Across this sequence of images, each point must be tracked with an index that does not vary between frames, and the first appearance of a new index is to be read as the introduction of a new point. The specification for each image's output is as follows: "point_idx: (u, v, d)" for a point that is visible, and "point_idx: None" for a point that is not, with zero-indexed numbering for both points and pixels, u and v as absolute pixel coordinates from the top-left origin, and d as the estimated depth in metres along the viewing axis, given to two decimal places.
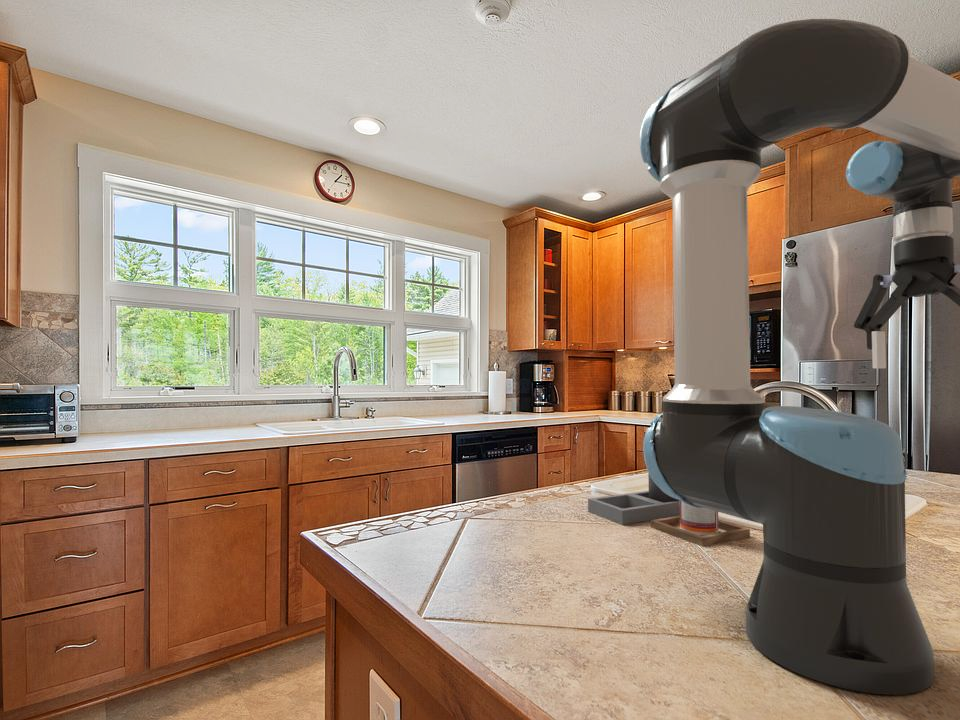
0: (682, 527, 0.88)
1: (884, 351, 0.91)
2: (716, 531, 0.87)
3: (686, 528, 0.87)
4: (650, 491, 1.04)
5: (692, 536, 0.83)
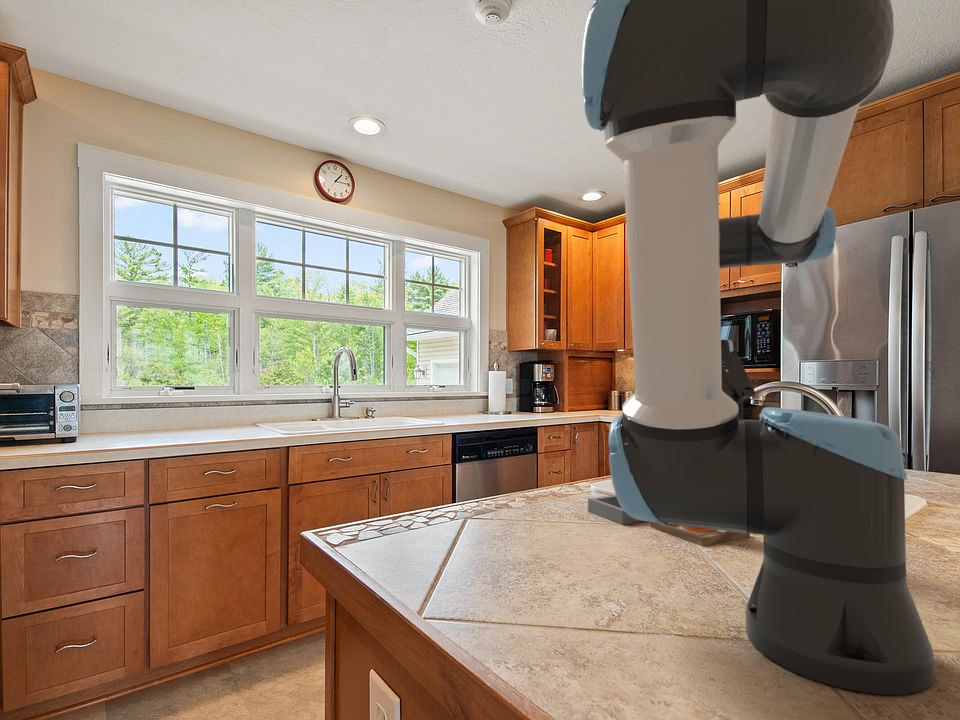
0: (682, 527, 0.88)
1: None
2: (716, 531, 0.87)
3: (686, 528, 0.87)
4: None
5: (692, 536, 0.83)
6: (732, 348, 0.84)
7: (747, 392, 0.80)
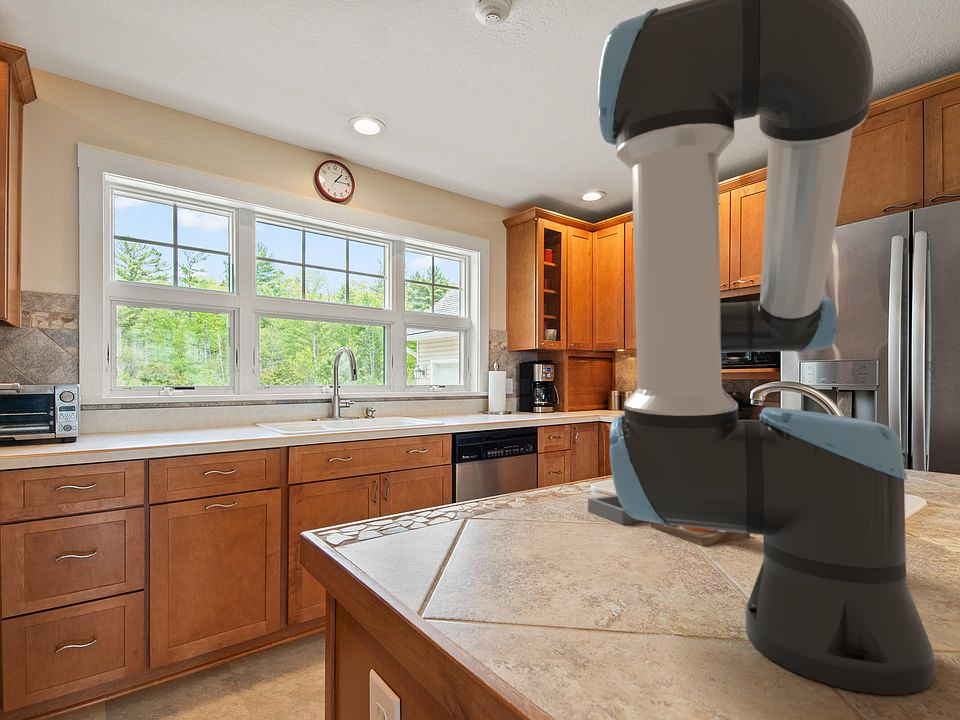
0: (682, 527, 0.88)
1: None
2: (716, 531, 0.87)
3: (686, 527, 0.87)
4: None
5: (692, 536, 0.83)
6: None
7: None
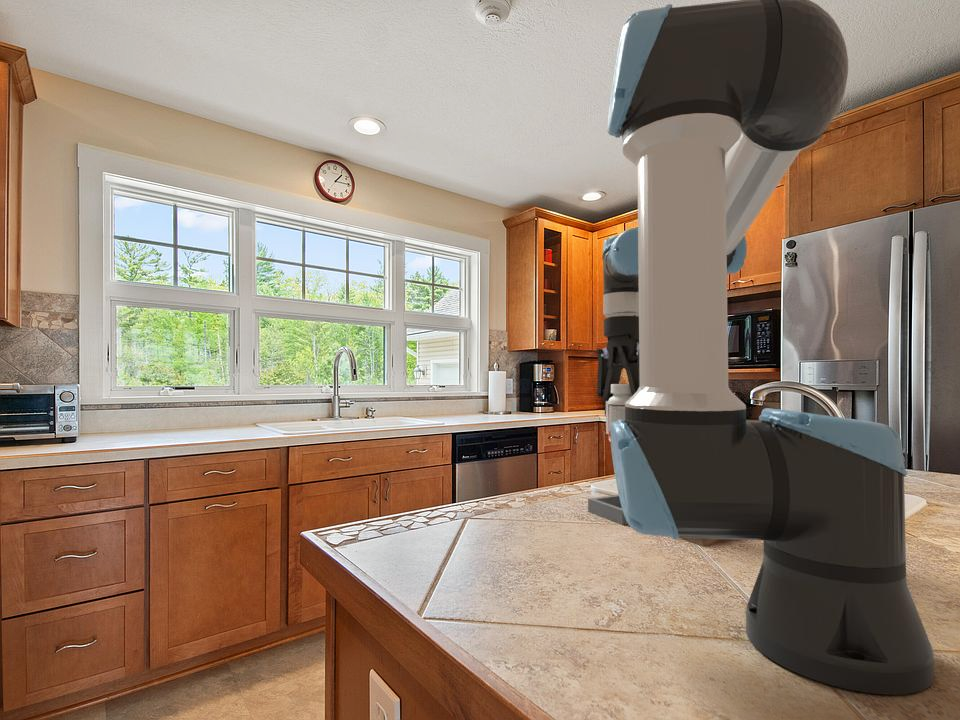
0: (609, 438, 1.00)
1: None
2: None
3: None
4: None
5: None
6: None
7: None
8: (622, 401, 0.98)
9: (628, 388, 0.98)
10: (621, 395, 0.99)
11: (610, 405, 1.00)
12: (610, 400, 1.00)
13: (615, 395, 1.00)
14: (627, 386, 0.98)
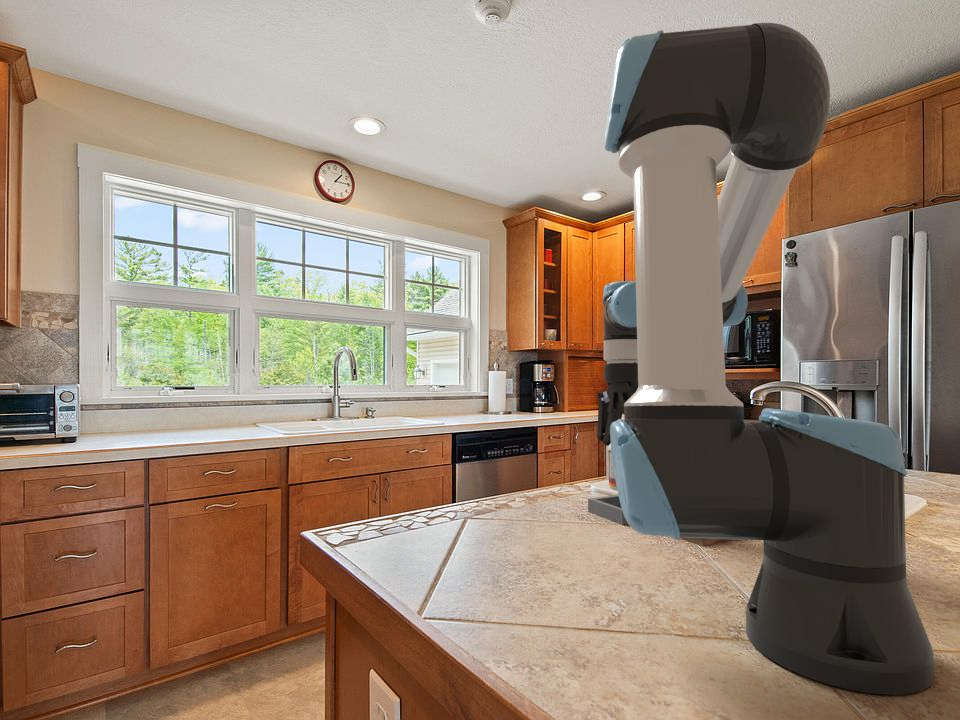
0: (610, 484, 1.00)
1: None
2: None
3: (612, 484, 0.99)
4: None
5: None
6: None
7: None
8: None
9: None
10: None
11: (610, 451, 0.99)
12: (610, 446, 1.00)
13: None
14: None
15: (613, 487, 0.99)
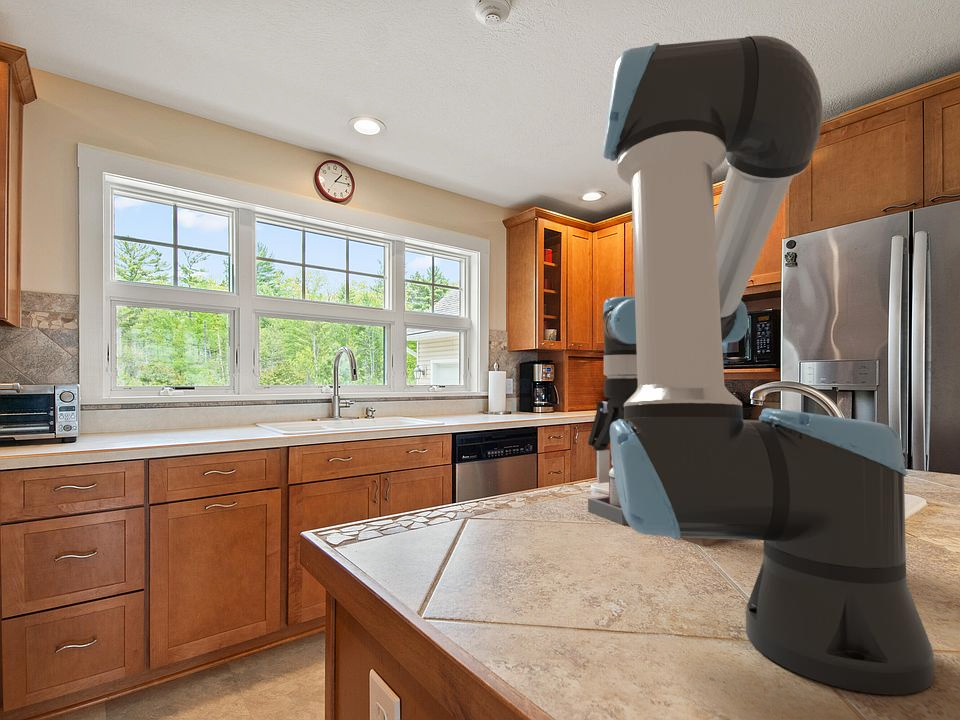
0: None
1: (608, 467, 1.06)
2: None
3: None
4: None
5: None
6: None
7: None
8: None
9: None
10: None
11: (611, 477, 0.99)
12: (611, 472, 0.99)
13: None
14: None
15: None
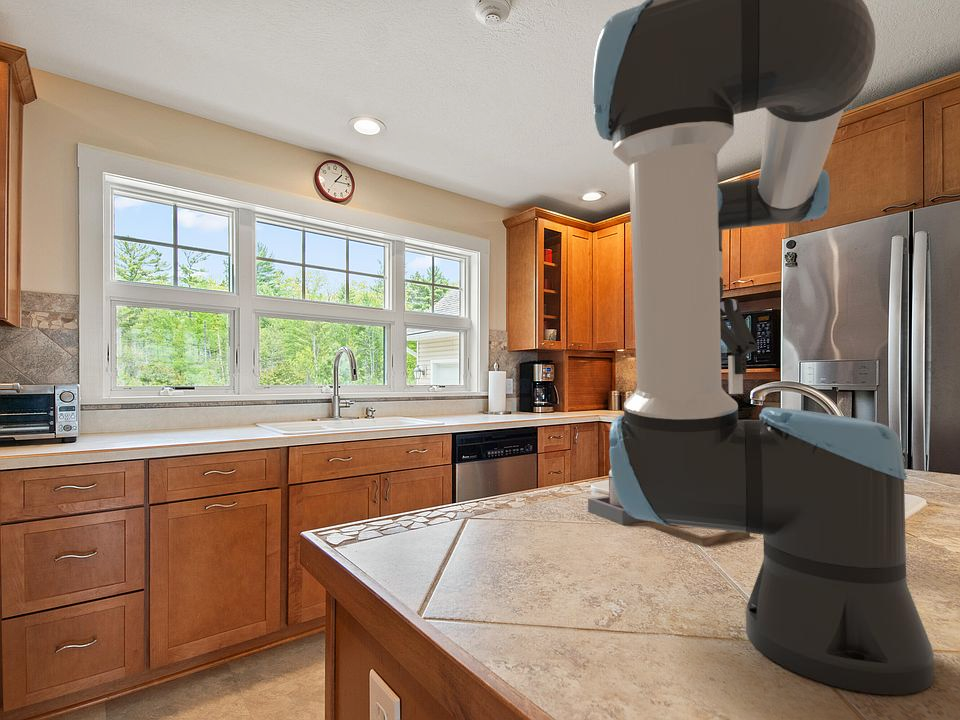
0: None
1: None
2: None
3: None
4: None
5: (692, 536, 0.83)
6: (736, 307, 0.89)
7: (750, 346, 0.86)
8: None
9: None
10: None
11: (611, 477, 0.99)
12: None
13: None
14: None
15: None
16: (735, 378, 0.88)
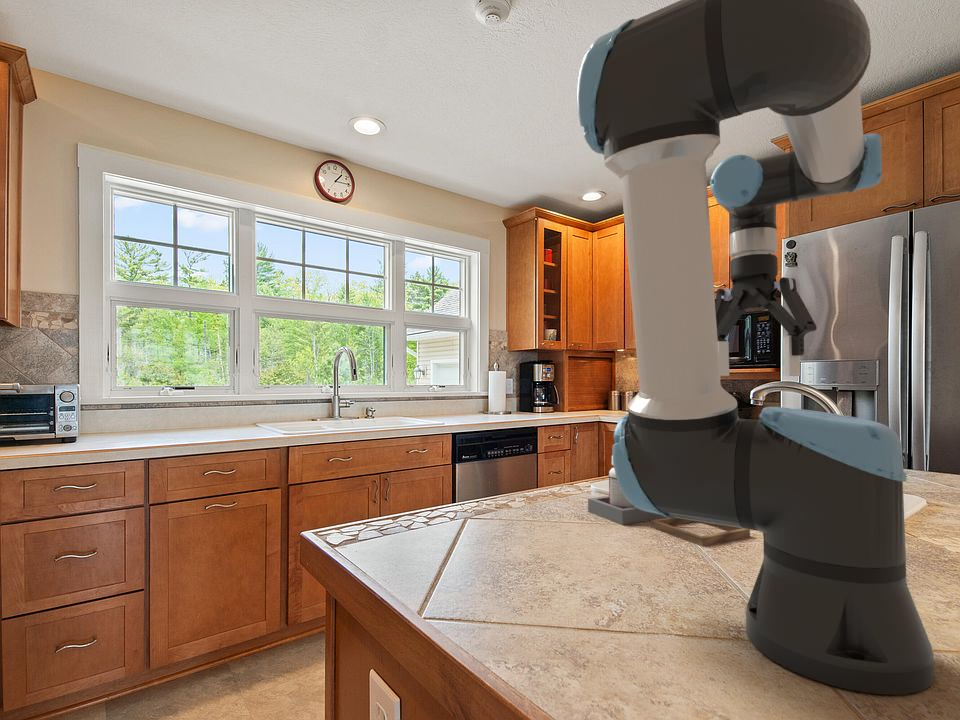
0: None
1: (727, 360, 0.98)
2: None
3: None
4: None
5: (692, 536, 0.83)
6: (792, 286, 0.86)
7: (809, 326, 0.83)
8: None
9: None
10: None
11: (611, 477, 0.99)
12: (611, 472, 0.99)
13: None
14: None
15: None
16: (792, 360, 0.85)
